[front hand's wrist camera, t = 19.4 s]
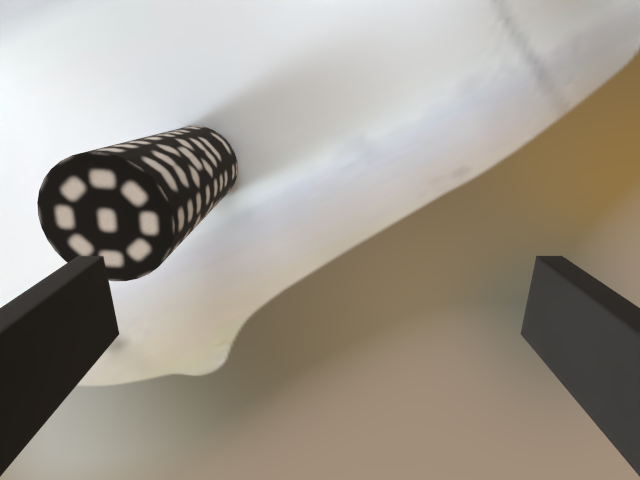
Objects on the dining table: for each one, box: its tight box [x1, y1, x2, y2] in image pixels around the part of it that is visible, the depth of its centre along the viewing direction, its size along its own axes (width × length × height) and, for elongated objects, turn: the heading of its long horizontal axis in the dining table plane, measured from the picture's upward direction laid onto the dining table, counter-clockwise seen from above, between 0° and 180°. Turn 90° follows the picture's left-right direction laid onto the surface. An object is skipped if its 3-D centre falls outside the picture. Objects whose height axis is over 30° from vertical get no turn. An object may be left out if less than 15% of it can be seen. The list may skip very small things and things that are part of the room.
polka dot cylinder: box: [38, 126, 237, 281], centre depth 34 cm, size 8×8×20 cm
